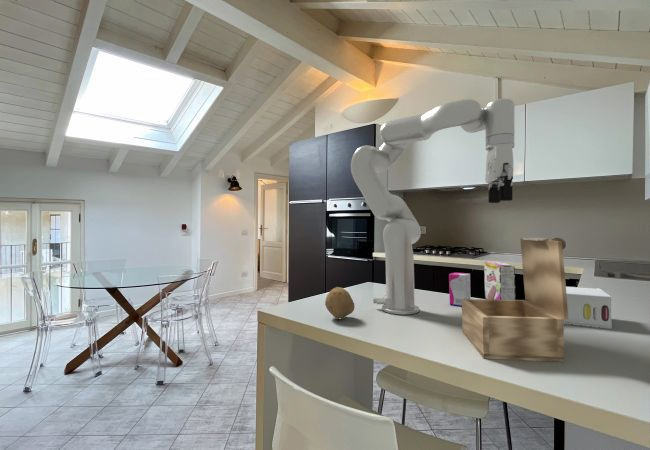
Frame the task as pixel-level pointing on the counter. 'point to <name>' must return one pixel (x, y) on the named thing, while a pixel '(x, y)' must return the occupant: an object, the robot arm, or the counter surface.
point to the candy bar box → (499, 281)
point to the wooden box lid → (545, 274)
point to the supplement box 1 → (459, 288)
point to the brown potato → (339, 303)
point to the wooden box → (513, 330)
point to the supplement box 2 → (588, 307)
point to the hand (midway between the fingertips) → (499, 201)
